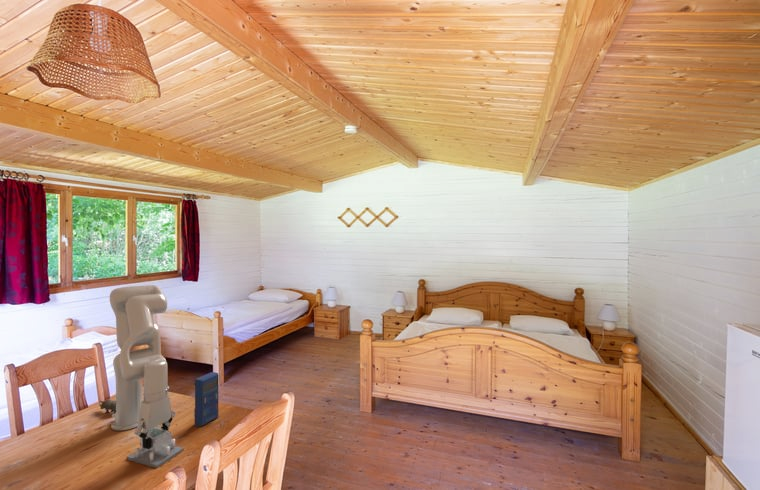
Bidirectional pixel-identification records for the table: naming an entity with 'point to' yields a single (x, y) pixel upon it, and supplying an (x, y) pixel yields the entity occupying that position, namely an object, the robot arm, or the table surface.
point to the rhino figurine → (108, 405)
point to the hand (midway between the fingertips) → (155, 442)
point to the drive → (158, 439)
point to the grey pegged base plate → (155, 455)
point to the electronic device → (206, 398)
